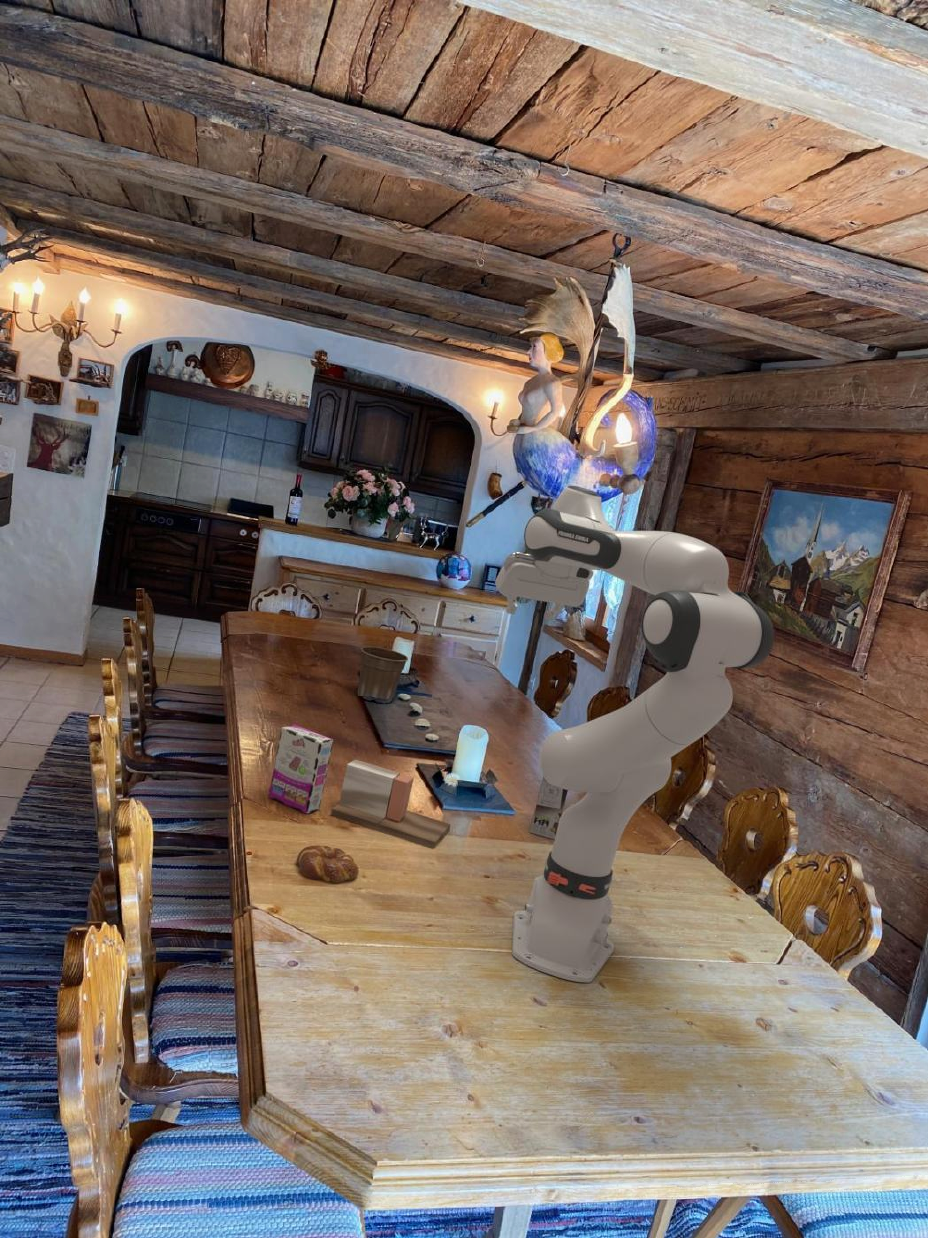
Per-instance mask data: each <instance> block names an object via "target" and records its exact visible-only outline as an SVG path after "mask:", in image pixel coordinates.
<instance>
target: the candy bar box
mask: <svg viewBox="0 0 928 1238" xmlns="http://www.w3.org/2000/svg"><path fill="white" fill-rule="evenodd" d="M333 744H334V739H333V738H330V737H328V736H325V735H323V734H320V733H317V732H315V731H311V730H309V729H306V728H304V727H302V726H298V725H296V724H292V725H289V726H284V727H281V730H280V734H279V740H278V745H277V749H276V750H277V751H276V756H275V761H274V765H273V772H272V777H271V782H270V788H269V793H268V798H270V799H272V800H274V801H277V802H279V803H281V804H284V805H285V806H288V807H290V808H292V809H295V810H296V811H299V812H302V813H304V814H310V813H313V812H316V811H318V810H320V809H321V804H322V800H323V799H322V798H323V795H324V789H325V784H326V778H327V773H328V770H329V764H330V759H331V755H332V754H331V753H332V748H333Z"/></svg>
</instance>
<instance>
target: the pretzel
mask: <svg viewBox="0 0 928 1238" xmlns="http://www.w3.org/2000/svg"><path fill="white" fill-rule="evenodd" d="M296 864H297V866H298V867H299V869H300V871H301V874H302V875H303V876H305V877H307V878H309V879H312V880H323V881H325V882H332V883H337V884H339V883H342V882H345V881H353V880H355V879H357V877H358V874H359V872H360V871H359V866H358V865H357V863H356V862H355V861H354V858H353V856H352V855H350V854H346V852H345V851H343V850H342V849H340V848H336V847H335V848H333V847H330V846H328V845H308V846H306V847H304V848H303V849H301V850H300V851H299V853H298V855H297V858H296Z"/></svg>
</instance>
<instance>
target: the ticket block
mask: <svg viewBox="0 0 928 1238" xmlns="http://www.w3.org/2000/svg"><path fill="white" fill-rule="evenodd" d="M400 774H401V773H400V772H397V771H394V770H391V769H387V768H385V767H382V766H381V767H380V766H377V765H375V764H372V763H368V762H365V761H362V760H361V761H360V760H358V759H353V760H352V761H350V762H349V763H347V764H346V769H345V773H344V779H343V783H342V788H341V792H340V798H339V802H338V804H337V805H336V806H335V805H334V807H333V808H332V809H331V813H330V816H332V817H335V818H338V819H341V820H343V821H347V822H351V823H353V824H357V825H359V826H362V827H365V828H369V829H371V830H374V831H377V832H381V833H383V834H384V833H385V834H387V833H388V834H387V835H390V836H393V837H396V838H400V839H402V840H405V841H409V842H411V843H415V844H417V845H420V846H423V847H427V848H430V849H433V850H434V849H435V848H436V847H437V846H438V845H439V843H440V842H441V841H442V839H443V838H444V837H445V836H446V835H447V834H448V833H449V832H450V830H451V823H448V822H444V821H442V820H439V819H436V818H432V817H429V816H425V815H423V814H419V813H416V812H414V811H410V810H407V811H406V815H405V816H404V817H403V818H402V819H401V820H400V821H399V822H398V821H395V820H392V819H389V818H386V816H387V812H388V807H389V802H390V798H391V793H392V788H393V784H394V779H395V778H396V777H398V776H399V775H400Z"/></svg>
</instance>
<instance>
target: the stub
mask: <svg viewBox="0 0 928 1238" xmlns="http://www.w3.org/2000/svg"><path fill="white" fill-rule="evenodd" d="M414 778H415V777H414V776H412V775H411V776H410V775H407V774H403V773H400V775H399V776H398V777H396V778H395V779H394V784H393V788H392V793H391V798H390V802H389V807H388V812H387V816H386V818H389V819H392V820H395V821H398V822H399V821H400V820H401V819H402V818H403V817H404V816H405V815H406V811H408V806H409V801H410V797H411V791H412V788H413V782H414Z"/></svg>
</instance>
